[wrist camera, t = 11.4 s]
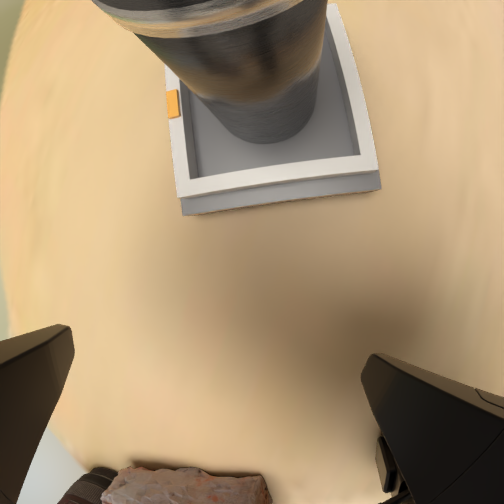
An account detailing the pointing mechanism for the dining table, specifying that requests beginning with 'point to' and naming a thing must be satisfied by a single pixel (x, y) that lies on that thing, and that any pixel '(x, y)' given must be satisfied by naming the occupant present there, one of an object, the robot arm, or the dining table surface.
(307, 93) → the dark tapered cup
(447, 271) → the dining table surface
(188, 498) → the weathered brick
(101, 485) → the camera lens
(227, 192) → the shallow square tray
